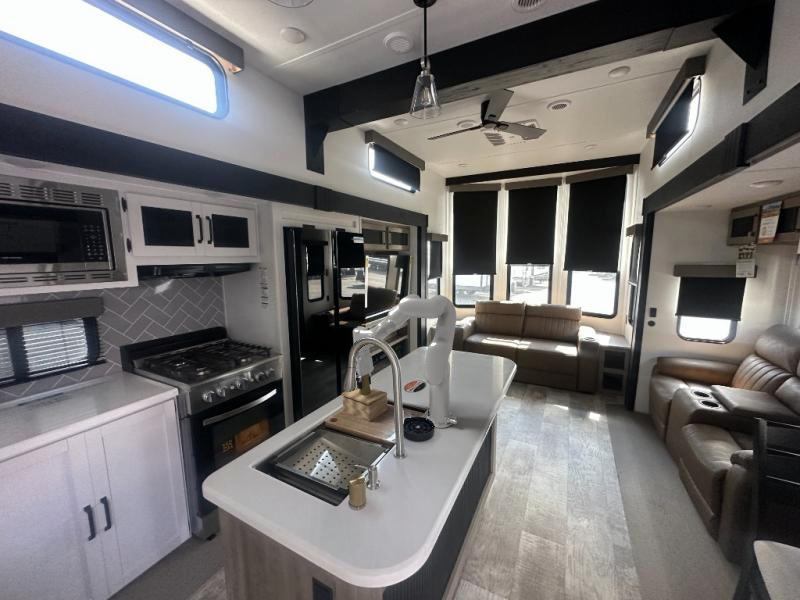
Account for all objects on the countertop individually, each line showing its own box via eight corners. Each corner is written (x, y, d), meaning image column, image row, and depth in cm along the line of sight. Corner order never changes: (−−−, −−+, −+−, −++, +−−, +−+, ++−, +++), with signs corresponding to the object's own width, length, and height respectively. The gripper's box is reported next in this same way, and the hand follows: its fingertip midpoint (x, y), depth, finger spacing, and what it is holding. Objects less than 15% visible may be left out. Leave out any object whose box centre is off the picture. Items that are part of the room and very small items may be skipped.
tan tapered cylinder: (362, 396, 154) (361, 375, 153) (357, 392, 159) (355, 371, 157) (373, 392, 158) (372, 372, 156) (367, 389, 162) (366, 369, 161)
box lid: (387, 394, 158) (387, 392, 158) (368, 404, 147) (368, 402, 147) (361, 386, 169) (361, 384, 169) (341, 395, 158) (341, 393, 158)
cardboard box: (387, 409, 160) (386, 394, 158) (369, 421, 149) (368, 406, 147) (362, 400, 171) (361, 386, 169) (343, 411, 160) (342, 396, 158)
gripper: (354, 358, 146) (357, 394, 149) (378, 348, 159) (380, 381, 162) (343, 355, 150) (346, 390, 153) (368, 346, 164) (370, 378, 167)
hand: (364, 385), depth 157 cm, fingers open, 5 cm apart
